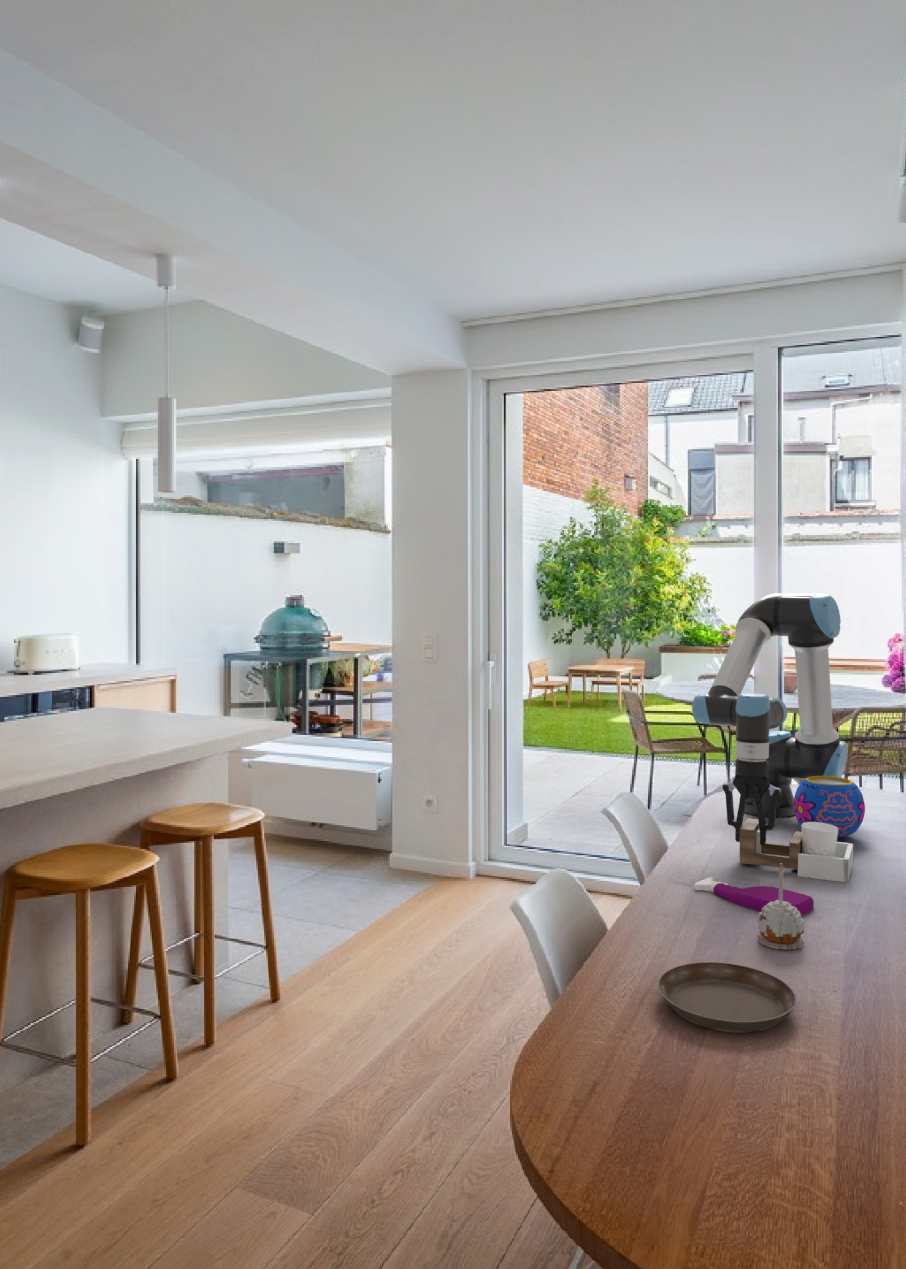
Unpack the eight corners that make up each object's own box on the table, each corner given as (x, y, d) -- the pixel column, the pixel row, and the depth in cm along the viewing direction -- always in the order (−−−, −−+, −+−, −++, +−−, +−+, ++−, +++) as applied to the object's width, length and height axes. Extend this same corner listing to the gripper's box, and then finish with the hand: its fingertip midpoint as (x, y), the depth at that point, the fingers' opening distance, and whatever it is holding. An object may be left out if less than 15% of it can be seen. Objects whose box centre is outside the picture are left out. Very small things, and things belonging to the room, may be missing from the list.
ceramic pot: (851, 828, 254) (852, 773, 253) (874, 846, 237) (875, 787, 236) (785, 827, 256) (785, 772, 255) (802, 845, 238) (803, 786, 238)
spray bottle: (792, 923, 185) (684, 895, 203) (818, 909, 192) (712, 884, 210) (792, 908, 184) (684, 881, 203) (818, 895, 192) (712, 870, 210)
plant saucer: (808, 1046, 135) (808, 1023, 135) (660, 1035, 138) (661, 1013, 138) (783, 985, 155) (783, 966, 155) (655, 978, 159) (655, 958, 158)
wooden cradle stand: (748, 850, 230) (748, 818, 230) (804, 857, 224) (804, 823, 224) (739, 862, 220) (739, 829, 220) (798, 869, 214) (798, 835, 214)
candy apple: (767, 933, 178) (768, 855, 177) (808, 943, 173) (810, 862, 172) (751, 945, 172) (752, 864, 171) (793, 956, 167) (795, 872, 166)
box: (805, 858, 226) (805, 838, 226) (852, 864, 221) (853, 843, 221) (797, 876, 213) (798, 854, 213) (848, 882, 208) (848, 860, 208)
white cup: (830, 876, 212) (832, 833, 212) (794, 869, 217) (796, 826, 216) (840, 868, 218) (842, 826, 218) (805, 861, 223) (807, 820, 223)
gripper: (714, 758, 224) (712, 856, 225) (785, 764, 216) (783, 865, 217) (720, 753, 230) (718, 848, 231) (789, 759, 223) (788, 857, 224)
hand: (750, 856), depth 224 cm, fingers closed on wooden cradle stand, 3 cm apart
